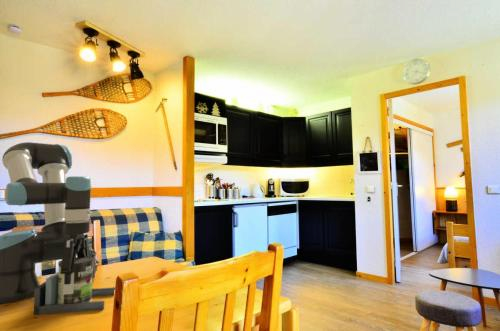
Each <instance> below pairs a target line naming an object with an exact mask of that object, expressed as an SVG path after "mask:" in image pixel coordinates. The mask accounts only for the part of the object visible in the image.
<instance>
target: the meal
mask: <svg viewBox="0 0 500 331" xmlns="http://www.w3.org/2000/svg"><path fill="white" fill-rule="evenodd" d="M88 253H89V257H92V258H93V276H92V282H94V280H95V279H96V277H98V274H96V272H97V271H98V266H99V259H98V257H97V251H96V250H93V248H92V247H90V246H88ZM96 264H97V265H96Z"/></svg>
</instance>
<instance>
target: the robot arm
mask: <svg viewBox="0 0 500 331" xmlns="http://www.w3.org/2000/svg"><path fill="white" fill-rule="evenodd" d="M1 160H2V165H3V166H4V167H5V169H7V171H8V176H9V181H10V182H9V183H8V184H6V187H5V202H6V203H5V204H6V205H8V206H30V205H31V206H32V205H33V206H34V205H35V206H36V205H43V207H44V208H43V209H44V219H45V221H44V222H45V224H44V225H43V226H41V231H38V230H37V228H25V229H18V230H14V231H9V232H6V233H3V234H1V235H0V304H6V303H8V304H9V303H14V302H17V301H18V302H20V301H22V300H27V299H29V298H32V297H34V290H35V288H36V287H38V286H39V285H41V284H40V281H39V279H38V275H37V273H36V264H41V263H46V262H54V261H61V260H62V265H61V271H60V274H64V285H63V295H64V294H73V290H74V272H73V268H74V263H75V259H76V257H77V258H79V257H89V253H88V247H89V244H88V239H89V238H88V237H89V234H87V233H90V225H91V224H90V223H91V222H90V215H92V211H91V191H92V190H91V188H92V184H91V177H89V176H67V177H66V174H68V172H69V170H71V169H72V166H73V165H72V164H73V154H72V152H71V149H70V148H69V147H68V146H67V145H64V144H58V143H55V144H53V143H52V144H51V143H39V142H31V141H30V142H29V141H26V142H20V143H17V144H14V145H12V146H10V147H9V148H7V149H6V151H5V152H4V153H3V154H2V159H1ZM34 170H37V174H38V175H39V176H41V180H42V181H41V182H39V181H38V178H37V177H36V174H35V171H34ZM72 272H73V273H72Z"/></svg>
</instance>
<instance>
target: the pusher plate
mask: <svg viewBox="0 0 500 331" xmlns="http://www.w3.org/2000/svg"><path fill="white" fill-rule="evenodd" d="M45 282H46V296H45V305H51V304H57V298H58V271H57V272H55V273H54V274H52V275H50V276H49V277H47V278H45Z"/></svg>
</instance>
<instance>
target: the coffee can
mask: <svg viewBox="0 0 500 331" xmlns="http://www.w3.org/2000/svg"><path fill="white" fill-rule="evenodd" d="M57 265H58V269H57V270H58V271H57V272H58V298H57V304H65V303H78V302H92V301H93V297H92V289H93V281H92V276H93V258H92V257H79V258H77V256H76V259H75V263H74V268H73V272H74V290H73V294H64V295H63V285H64V274H60V271H61V265H62V259H61V260H58V264H57ZM73 272H72V273H73Z"/></svg>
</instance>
